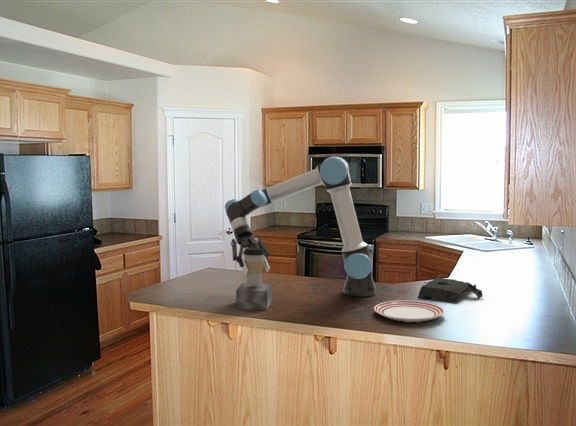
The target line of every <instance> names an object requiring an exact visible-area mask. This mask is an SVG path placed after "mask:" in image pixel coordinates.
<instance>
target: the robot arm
mask: <svg viewBox="0 0 576 426" xmlns="http://www.w3.org/2000/svg"><path fill="white" fill-rule="evenodd" d="M320 185H323V186H324V188H325V191H326V192H327V193H329V194H330V197H331V201H332V206H333V210H334V212H335V213H334V214H335V217H336V221H337V226H338V229H339V232H340V237H341V240H342V244H343V248H342V249H341V255H342V258H343V262H344V264H343V265H344V266H343V268H344V271H345V272H346V274H347V275H346V278H345V281H344V284H343V289H342V293H343V294H345V295H347V296H350V297H351V296H352V297H358V298H359V297H363V298H364V297H371V296H374V295H376V294H377V288H376V284H375V281H374V278H373V259H374V258H373V252H374V249H373V245H372V244H368V243H366V242H364V240H363V236H362V233H361V229H360V228H361V227H360V225H359V221H358V218H357V213H356V209H355V205H354V201H353V198H352V193H351V190H350V189H351V186H352V180H351V175H350V166H349V163H348V162H347V161H346V159H345V158H343V157H341V156H335V155H334V156H330V157H327V158H325V159H324V160H323V161H322V163H320V164H319V165H316V167H315V168H314V169H313V170H309V171H306V172H304V173H302V174H301V173H300V174H299V175H297V176H294V177H291V178H290V179H286V180H284V181H281V182H278V183H276V184H274V185H271V186H269V187H266V188H263V189H260V188H257V189H255V190H253V191H251V192H250V193H249V194H248V195H246V196H244V197H243V198H241V199H240V200H239V199H236V198H232V199H229V200H228V201H227V202H226V203H225V204H224V209H225V214H226V216H227V219H228V220H229V223H230V226H231V229H232V232H233V235H234V237H235V238H232V239H231V241H230V245H231V247H232V248H231V250H232V251H231V252H232V261H236V263H238V265H239V267H240V268H242V271H243V274H244V275H245V276H246V274H247V272H248V269H247V266H246V263H245V257H243V255H244V254H243V253H244V250H245V248H250V247H258V248H263V249H264V251H265V254H264V258H263V260H264V262H263V268H265V271H266V273H268V272H269V271H270V270H271V267H270V265H269V262H270V261H269V256H270V254H271V252H270V251H269V250H268V248H267V247H266V245H265V243H264V242H263V241H262V239H261V237H260V236H258V237H255V236H253V233H252V230H251V227H250V224H249V221H248V220H247V217H246V216H248V215H251V213H253V212H254V211H257V210H258V209H260V208H263V207H266V206H269V205H271V204H273V203H275V202H278V201H281V200H284V199H287V198H288V197H291V196H294V195H296V194H300V193H302V192H304V191H307V190H309V189H313V188H315V187H318V186H320ZM237 244H238V245H239V250H238V249H237V248H238V246H237ZM238 251H239V252H238Z"/></svg>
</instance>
